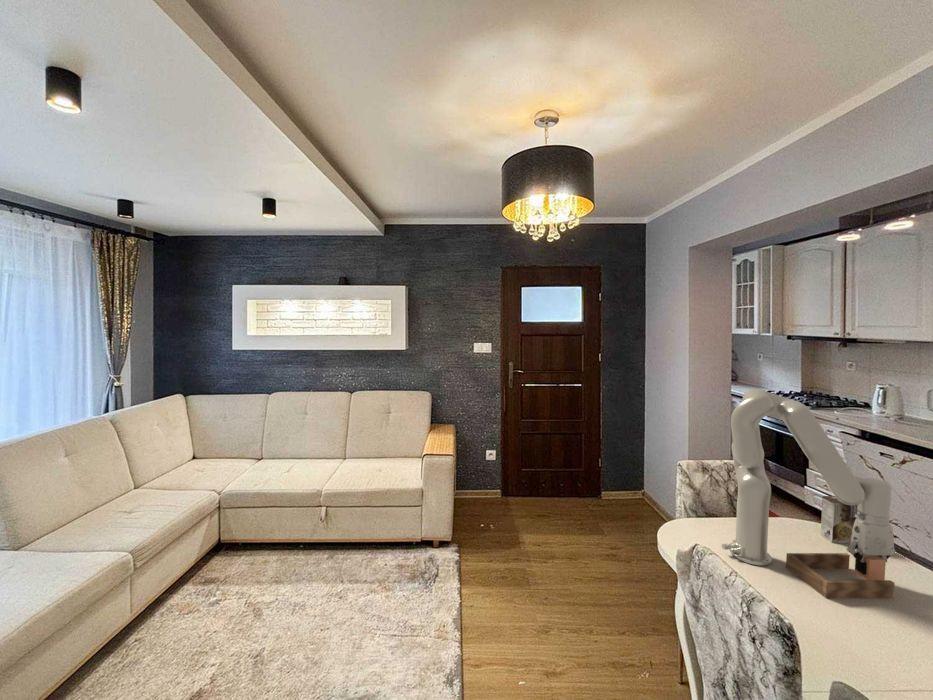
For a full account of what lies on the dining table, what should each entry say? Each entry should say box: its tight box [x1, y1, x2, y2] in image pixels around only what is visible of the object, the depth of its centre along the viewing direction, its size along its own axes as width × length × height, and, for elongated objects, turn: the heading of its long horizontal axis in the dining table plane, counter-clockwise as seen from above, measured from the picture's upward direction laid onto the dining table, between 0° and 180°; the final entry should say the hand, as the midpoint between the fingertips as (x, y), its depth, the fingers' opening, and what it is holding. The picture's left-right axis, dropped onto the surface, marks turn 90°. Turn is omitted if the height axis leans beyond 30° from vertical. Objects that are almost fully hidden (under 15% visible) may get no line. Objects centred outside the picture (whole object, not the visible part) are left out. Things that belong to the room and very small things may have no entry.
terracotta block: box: [854, 553, 887, 580], centre depth 138 cm, size 5×5×7 cm
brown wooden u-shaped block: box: [785, 552, 895, 599], centre depth 138 cm, size 21×16×5 cm
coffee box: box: [820, 495, 858, 544], centre depth 164 cm, size 9×6×16 cm
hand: (869, 571), depth 138 cm, fingers closed on terracotta block, 5 cm apart
